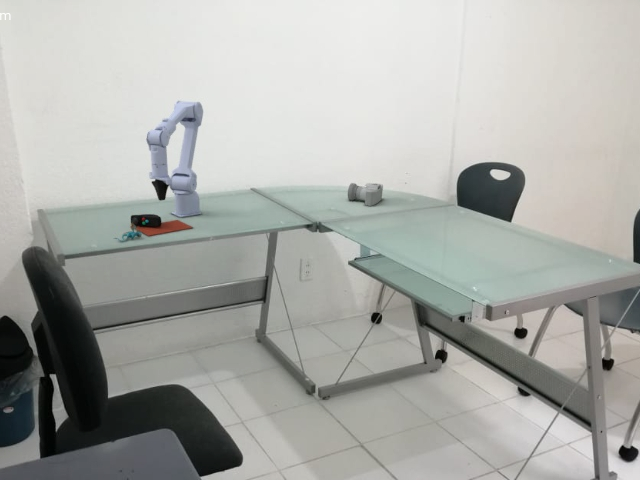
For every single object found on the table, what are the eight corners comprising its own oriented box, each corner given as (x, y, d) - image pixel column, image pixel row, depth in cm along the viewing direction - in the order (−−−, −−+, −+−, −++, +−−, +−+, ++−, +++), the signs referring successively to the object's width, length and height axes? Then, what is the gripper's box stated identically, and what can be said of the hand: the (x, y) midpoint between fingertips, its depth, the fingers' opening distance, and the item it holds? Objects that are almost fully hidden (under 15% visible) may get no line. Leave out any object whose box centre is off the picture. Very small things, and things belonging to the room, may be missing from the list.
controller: (140, 211, 233) (126, 215, 224) (169, 213, 229) (156, 217, 220) (141, 223, 234) (127, 226, 225) (169, 225, 231) (156, 228, 221)
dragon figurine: (132, 241, 207) (144, 227, 212) (113, 232, 207) (125, 218, 212) (131, 253, 212) (142, 239, 217) (112, 244, 212) (124, 230, 217)
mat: (177, 220, 236) (177, 219, 235) (192, 228, 227) (192, 227, 227) (134, 228, 225) (134, 227, 225) (148, 236, 217) (148, 235, 216)
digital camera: (359, 203, 281) (362, 181, 279) (386, 207, 273) (389, 185, 271) (341, 202, 268) (344, 179, 266) (369, 206, 260) (373, 182, 258)
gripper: (140, 161, 224) (143, 197, 229) (158, 168, 213) (161, 205, 219) (158, 159, 228) (160, 194, 233) (176, 166, 217) (178, 202, 223)
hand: (161, 200), depth 226 cm, fingers closed
